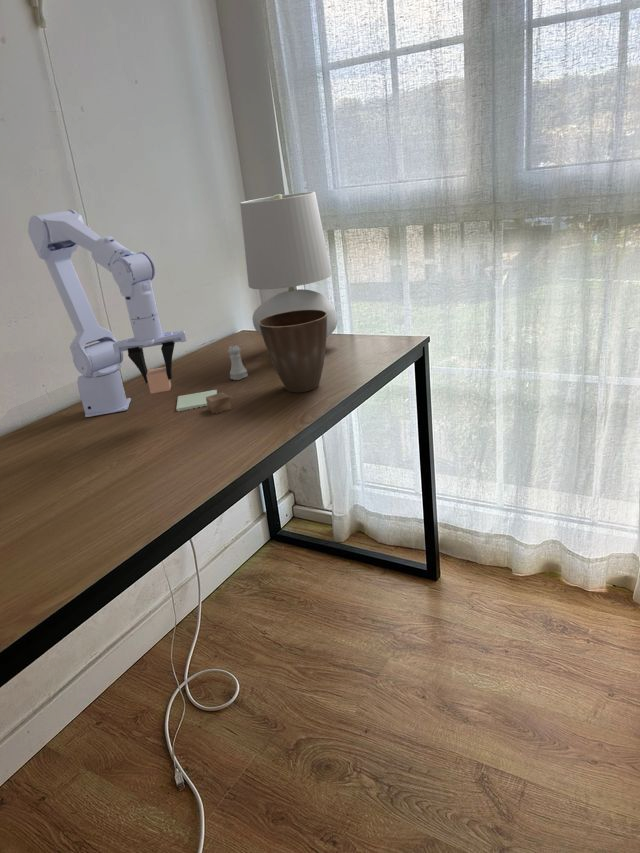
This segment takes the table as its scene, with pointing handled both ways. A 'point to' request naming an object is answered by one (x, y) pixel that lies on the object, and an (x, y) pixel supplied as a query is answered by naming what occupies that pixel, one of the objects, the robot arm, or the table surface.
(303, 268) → the table lamp
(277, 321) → the plant pot
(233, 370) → the rook chess piece
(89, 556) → the table surface
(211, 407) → the walnut brick
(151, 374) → the terracotta brick
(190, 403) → the base tile
